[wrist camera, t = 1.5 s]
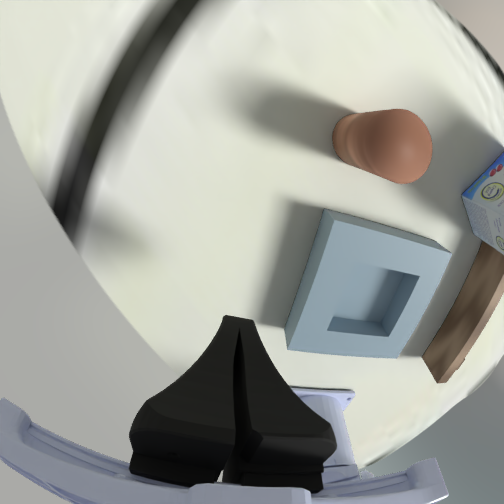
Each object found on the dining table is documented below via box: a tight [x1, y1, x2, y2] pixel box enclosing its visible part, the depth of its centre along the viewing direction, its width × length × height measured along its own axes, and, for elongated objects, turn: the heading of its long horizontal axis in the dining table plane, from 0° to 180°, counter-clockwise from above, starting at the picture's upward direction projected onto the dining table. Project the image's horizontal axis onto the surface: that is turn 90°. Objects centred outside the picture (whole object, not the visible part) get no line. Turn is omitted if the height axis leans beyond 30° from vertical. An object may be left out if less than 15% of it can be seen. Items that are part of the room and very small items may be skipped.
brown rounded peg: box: [332, 109, 432, 184], centre depth 13 cm, size 4×4×6 cm
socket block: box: [284, 208, 452, 358], centre depth 19 cm, size 10×10×2 cm
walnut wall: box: [422, 241, 504, 383], centre depth 20 cm, size 14×4×4 cm, turn 168°
